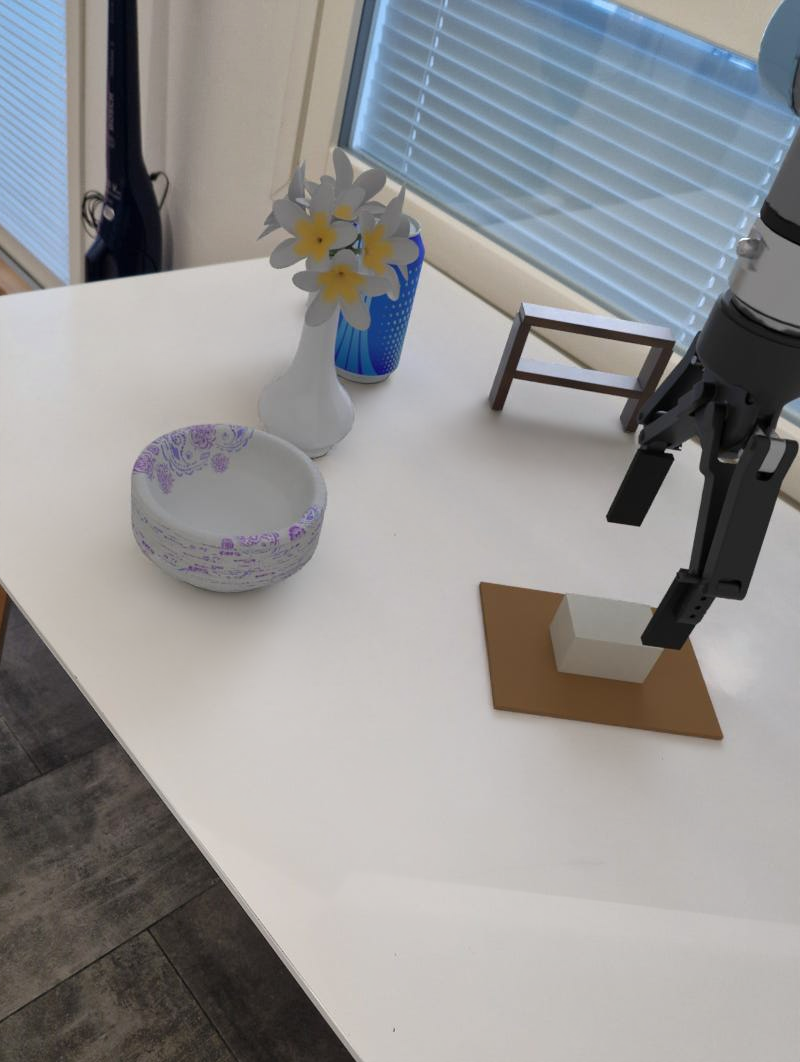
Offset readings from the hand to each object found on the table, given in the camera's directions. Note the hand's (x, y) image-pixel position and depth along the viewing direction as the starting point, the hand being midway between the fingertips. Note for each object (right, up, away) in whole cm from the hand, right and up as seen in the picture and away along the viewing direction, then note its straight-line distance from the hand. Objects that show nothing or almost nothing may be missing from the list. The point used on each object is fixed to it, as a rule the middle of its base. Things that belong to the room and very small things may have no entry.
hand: (639, 578), depth 67 cm
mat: (-2, -6, +6) cm, 9 cm away
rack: (+3, +21, +33) cm, 39 cm away
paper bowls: (-32, +2, +8) cm, 33 cm away
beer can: (-20, +26, +33) cm, 46 cm away
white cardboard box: (-2, -6, +6) cm, 8 cm away
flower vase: (-25, +14, +21) cm, 36 cm away
